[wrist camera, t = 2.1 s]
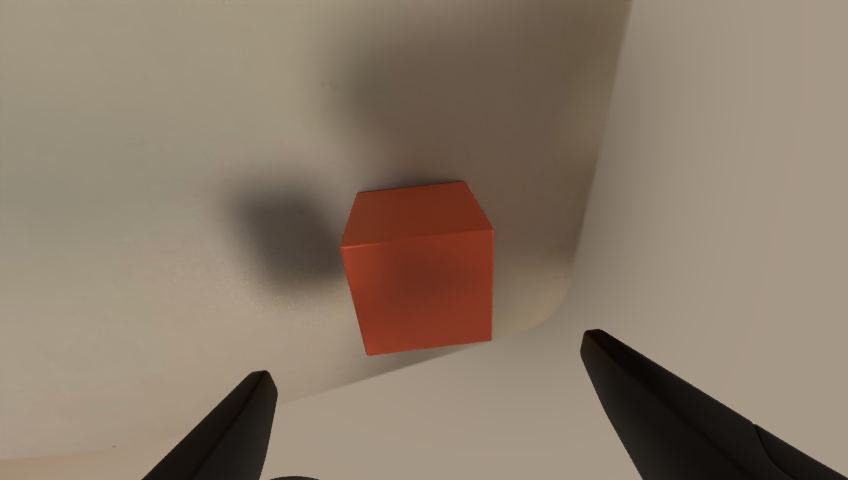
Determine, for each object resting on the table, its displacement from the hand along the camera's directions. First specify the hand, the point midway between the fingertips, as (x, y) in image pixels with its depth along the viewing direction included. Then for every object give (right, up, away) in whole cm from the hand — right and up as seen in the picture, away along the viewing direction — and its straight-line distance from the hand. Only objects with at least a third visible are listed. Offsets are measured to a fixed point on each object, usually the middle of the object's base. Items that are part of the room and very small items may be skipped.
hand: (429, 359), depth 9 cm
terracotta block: (-1, +4, +7) cm, 8 cm away
